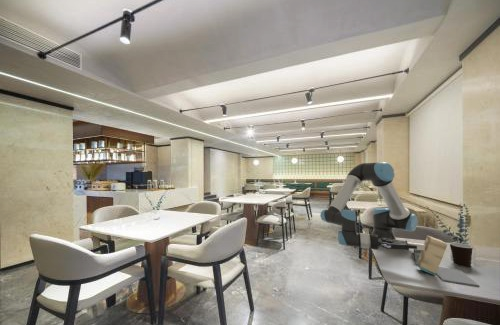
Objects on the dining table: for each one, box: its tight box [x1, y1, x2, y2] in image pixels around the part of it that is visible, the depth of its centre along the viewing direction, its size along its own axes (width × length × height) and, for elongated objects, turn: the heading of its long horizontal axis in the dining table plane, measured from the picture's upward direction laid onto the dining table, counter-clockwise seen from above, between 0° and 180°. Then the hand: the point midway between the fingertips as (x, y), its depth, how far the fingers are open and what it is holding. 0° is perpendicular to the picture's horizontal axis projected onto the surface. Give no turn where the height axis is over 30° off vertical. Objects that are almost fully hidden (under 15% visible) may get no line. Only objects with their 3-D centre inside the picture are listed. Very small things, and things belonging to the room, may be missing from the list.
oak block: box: [416, 235, 448, 276], centre depth 101 cm, size 6×6×16 cm
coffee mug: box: [449, 242, 474, 268], centre depth 112 cm, size 12×9×10 cm
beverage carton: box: [413, 249, 422, 264], centre depth 118 cm, size 8×19×7 cm, turn 143°
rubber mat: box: [436, 266, 480, 288], centre depth 98 cm, size 16×12×1 cm
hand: (424, 247), depth 102 cm, fingers closed
